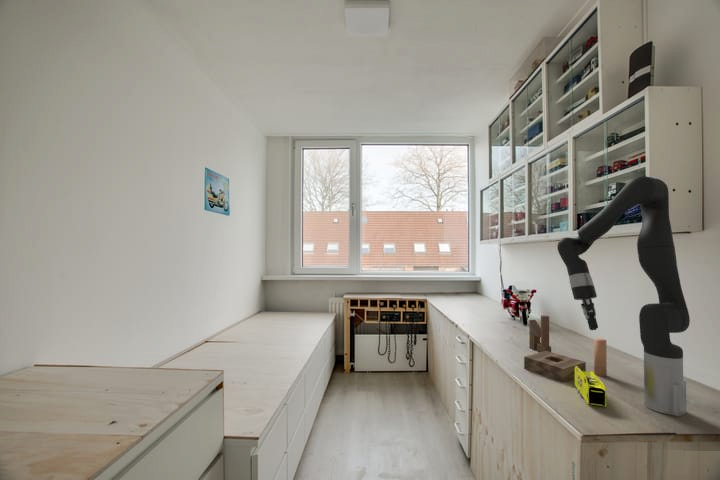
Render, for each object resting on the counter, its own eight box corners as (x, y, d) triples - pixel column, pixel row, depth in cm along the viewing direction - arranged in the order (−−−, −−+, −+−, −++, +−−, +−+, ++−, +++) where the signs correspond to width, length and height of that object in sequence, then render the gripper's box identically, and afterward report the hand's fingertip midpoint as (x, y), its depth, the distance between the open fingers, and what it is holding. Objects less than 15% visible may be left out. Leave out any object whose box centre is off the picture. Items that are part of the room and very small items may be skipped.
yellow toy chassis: (573, 386, 121) (573, 363, 121) (591, 389, 119) (591, 365, 119) (586, 406, 106) (586, 380, 106) (607, 409, 104) (607, 382, 104)
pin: (608, 375, 131) (608, 340, 132) (603, 377, 129) (603, 341, 130) (597, 372, 135) (597, 337, 135) (592, 373, 133) (592, 339, 133)
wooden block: (535, 347, 168) (535, 312, 168) (551, 354, 157) (551, 316, 158) (529, 347, 167) (528, 312, 167) (545, 354, 157) (544, 316, 157)
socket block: (585, 374, 132) (585, 361, 132) (563, 382, 124) (563, 368, 124) (546, 362, 146) (546, 350, 146) (524, 368, 138) (524, 356, 138)
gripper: (595, 281, 120) (608, 327, 115) (592, 288, 132) (604, 329, 126) (571, 284, 124) (582, 328, 118) (571, 290, 136) (581, 331, 130)
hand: (594, 329), depth 122 cm, fingers open, 8 cm apart
